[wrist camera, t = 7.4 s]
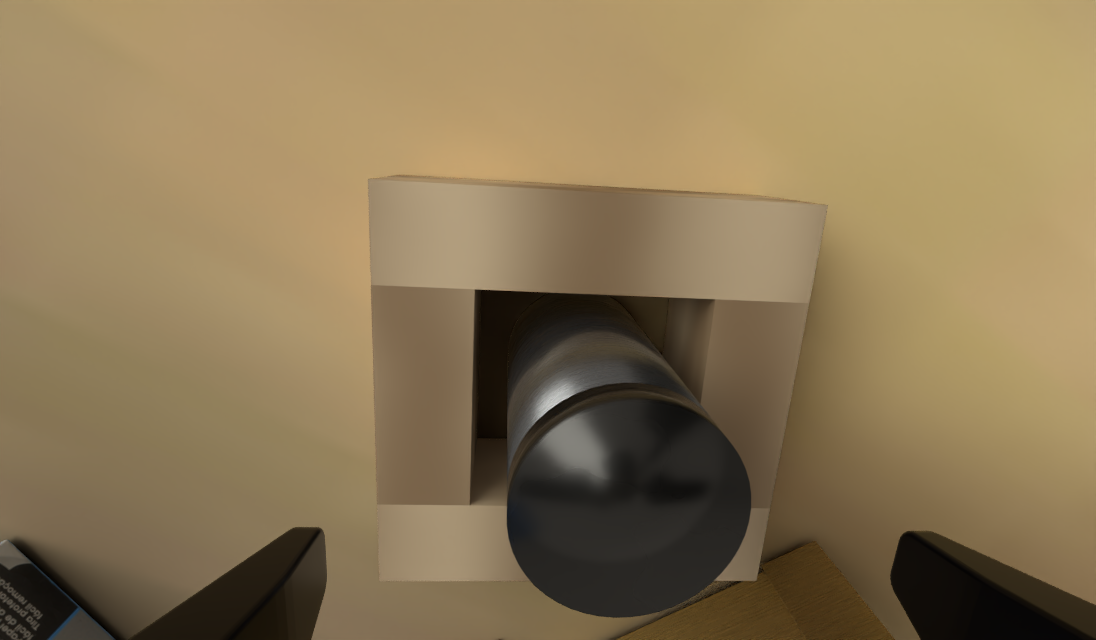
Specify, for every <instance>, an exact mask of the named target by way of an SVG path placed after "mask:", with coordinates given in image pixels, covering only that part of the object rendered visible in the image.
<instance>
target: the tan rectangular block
mask: <svg viewBox="0 0 1096 640" xmlns="http://www.w3.org/2000/svg"><path fill="white" fill-rule="evenodd" d="M761 567H762V569H763V571H764V572H762V573H760V574H758V576H757V581H743V582H740V583H738V584H736V585H734V586H732V587H730V588H727V589H725V590H723V591H721V592H719V593H716V594H714V595H712V596H710V597H708V598H705V599H703V600H701V601H699V602H697V603H695V604H692V605H690V606H688V607H686V608H684V609H681V610H679V611H677V612H675V613H673V614H670V615H668V616H666V617H664V618H662V619H660V620H657V621H655V622H653V623H651V624H649V625H646V626H644V627H642V628H640V629H638V630H636V631H633V632H631V633H629V634H627V635H625V636H622V637H620V638H618V639H616V640H895V639H894V638H893V637H892V636H891V634H890V633H889V632H888V631H887V629H886V628H885V627H884V626H883V624H882V623H881V622H880V621H879V619H878V618H877V617H876V616H875V614H874V613H873V612H872V611H871V609H870V608H869V607H868V606H867V605H866V603H865V602H864V601H863V600H862V598H861V597H860V596H859V595H858V593H857V592H856V591H855V590H854V588H853V587H852V586H851V585H850V583H849V582H848V581H847V580H846V579H845V577H844V576H843V575H842V574H841V572H840V571H839V570H838V569H837V567H836V566H835V565H834V564H833V562H832V561H831V560H830V559H829V557H828V556H827V555H826V554H825V553H824V551H823V550H822V549H821V548H820V546H819V545H818V544H817V543H816V541H813V542H811V543H809V544H806V545H804V546H802V547H800V548H798V549H796V550H793V551H791V552H789V553H787V554H785V555H782V556H780V557H778V558H776V559H774V560H772V561H769V562H767V563H765V564H763V565H761Z"/></svg>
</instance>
